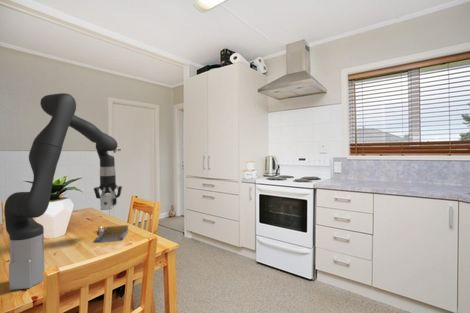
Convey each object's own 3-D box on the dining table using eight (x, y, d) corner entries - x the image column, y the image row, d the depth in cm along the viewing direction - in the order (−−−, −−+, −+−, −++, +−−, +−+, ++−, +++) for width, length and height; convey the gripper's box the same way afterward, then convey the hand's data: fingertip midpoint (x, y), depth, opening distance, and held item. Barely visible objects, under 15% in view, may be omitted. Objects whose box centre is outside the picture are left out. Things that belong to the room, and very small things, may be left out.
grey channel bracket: (122, 240, 122) (121, 233, 122) (95, 243, 119) (95, 235, 119) (128, 231, 136) (128, 224, 136) (104, 233, 133) (104, 226, 133)
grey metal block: (110, 209, 121) (110, 196, 120) (100, 210, 120) (100, 197, 119) (116, 205, 131) (115, 192, 130) (106, 205, 130) (106, 193, 129)
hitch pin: (103, 234, 132) (103, 229, 132) (98, 235, 131) (98, 230, 131) (103, 230, 138) (102, 226, 138) (97, 231, 136) (97, 226, 136)
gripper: (90, 176, 119) (91, 208, 120) (120, 175, 123) (121, 206, 123) (95, 174, 127) (96, 204, 127) (123, 173, 130) (124, 202, 131)
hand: (108, 205), depth 125 cm, fingers closed on grey metal block, 5 cm apart
